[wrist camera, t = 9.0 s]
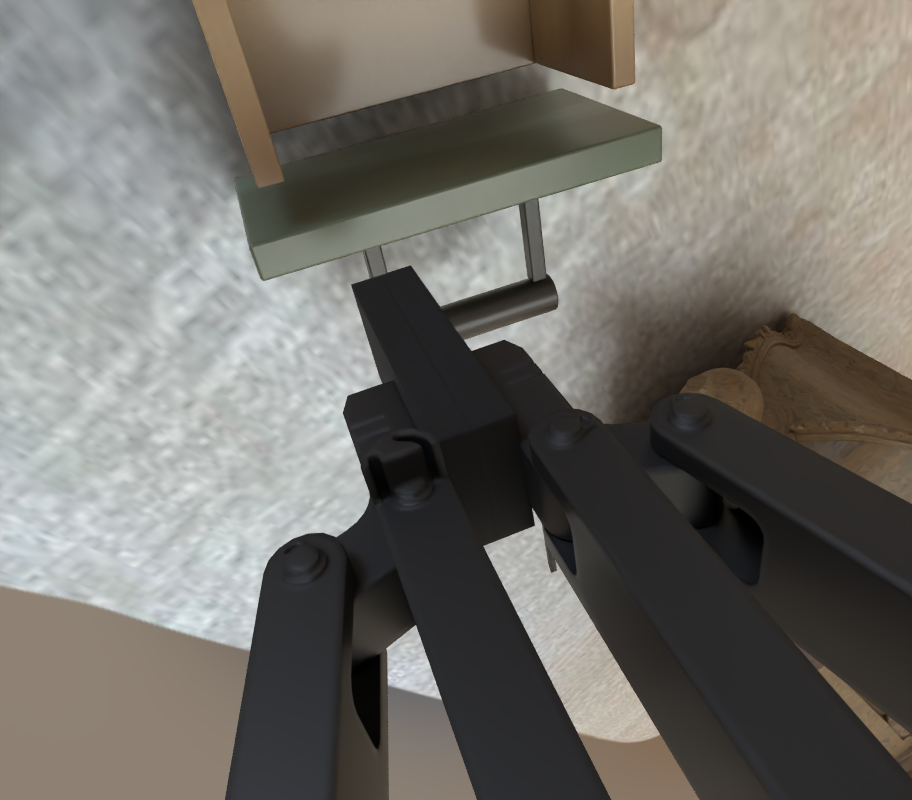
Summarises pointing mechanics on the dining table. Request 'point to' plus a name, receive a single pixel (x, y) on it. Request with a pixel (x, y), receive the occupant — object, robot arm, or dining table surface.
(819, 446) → the ornamental box
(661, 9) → the dining table surface
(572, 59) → the drawer
